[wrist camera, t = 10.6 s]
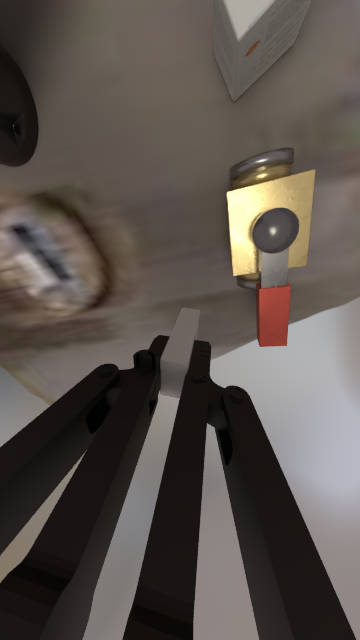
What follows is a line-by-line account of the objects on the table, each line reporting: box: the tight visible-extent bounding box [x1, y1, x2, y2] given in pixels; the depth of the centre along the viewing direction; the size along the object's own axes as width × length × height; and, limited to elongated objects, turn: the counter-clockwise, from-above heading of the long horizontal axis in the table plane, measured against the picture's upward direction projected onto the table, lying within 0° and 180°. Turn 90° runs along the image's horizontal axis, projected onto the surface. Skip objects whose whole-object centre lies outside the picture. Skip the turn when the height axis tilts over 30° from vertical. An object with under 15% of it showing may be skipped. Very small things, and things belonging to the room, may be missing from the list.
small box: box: [211, 0, 312, 102], centre depth 19 cm, size 8×6×10 cm
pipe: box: [230, 148, 294, 289], centre depth 28 cm, size 16×8×8 cm, turn 12°
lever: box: [251, 208, 299, 347], centre depth 23 cm, size 17×4×3 cm, turn 12°
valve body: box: [226, 162, 315, 281], centre depth 27 cm, size 14×9×11 cm, turn 12°
